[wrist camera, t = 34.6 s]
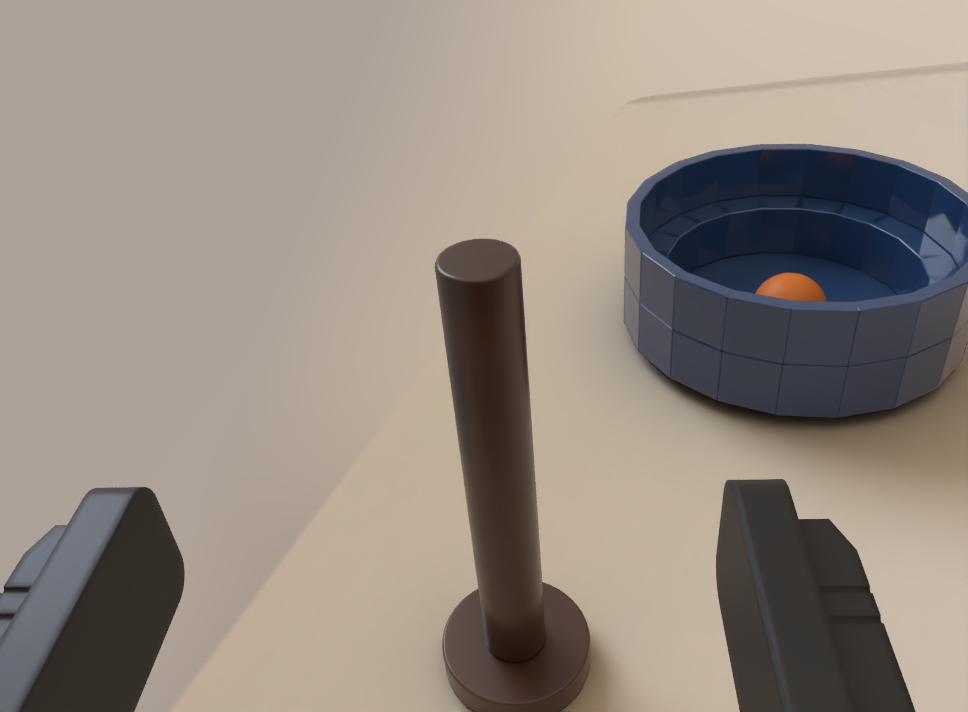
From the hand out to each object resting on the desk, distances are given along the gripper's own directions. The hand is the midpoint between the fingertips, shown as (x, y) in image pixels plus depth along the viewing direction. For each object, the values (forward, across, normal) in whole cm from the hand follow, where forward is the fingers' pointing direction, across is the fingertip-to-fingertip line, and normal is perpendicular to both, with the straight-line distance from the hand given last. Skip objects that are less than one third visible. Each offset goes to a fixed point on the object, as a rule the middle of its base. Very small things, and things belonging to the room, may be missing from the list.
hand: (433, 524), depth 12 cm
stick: (+7, 0, +14) cm, 16 cm away
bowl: (+24, -12, +14) cm, 31 cm away
